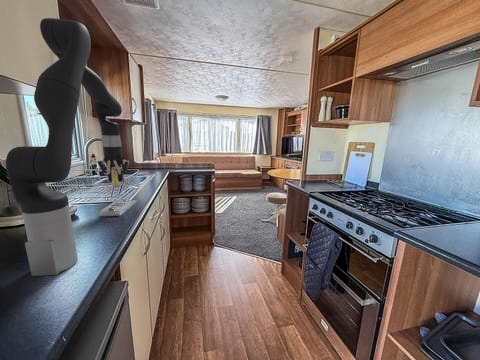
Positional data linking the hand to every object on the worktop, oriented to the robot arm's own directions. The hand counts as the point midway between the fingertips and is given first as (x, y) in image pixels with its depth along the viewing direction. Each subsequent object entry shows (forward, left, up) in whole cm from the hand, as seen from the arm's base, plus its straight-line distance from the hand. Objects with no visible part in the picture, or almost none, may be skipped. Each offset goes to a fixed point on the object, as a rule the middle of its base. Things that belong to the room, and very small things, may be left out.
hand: (116, 181), depth 100 cm
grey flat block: (0, 0, -14) cm, 14 cm away
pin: (0, 0, -3) cm, 3 cm away
